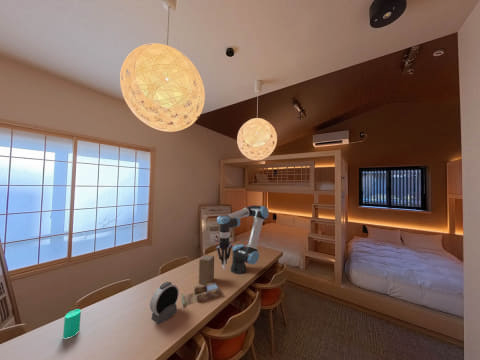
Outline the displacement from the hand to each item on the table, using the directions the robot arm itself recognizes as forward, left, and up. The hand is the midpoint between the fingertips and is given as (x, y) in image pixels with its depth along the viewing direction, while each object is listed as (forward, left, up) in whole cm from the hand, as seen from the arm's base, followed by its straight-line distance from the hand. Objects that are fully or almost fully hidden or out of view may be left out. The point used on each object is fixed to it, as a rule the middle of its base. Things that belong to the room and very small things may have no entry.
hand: (224, 268), depth 123 cm
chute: (+17, 0, -16) cm, 24 cm away
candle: (+85, +1, -16) cm, 87 cm away
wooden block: (+9, -17, -16) cm, 25 cm away
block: (+9, 0, -16) cm, 18 cm away
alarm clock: (+41, +7, -16) cm, 45 cm away
